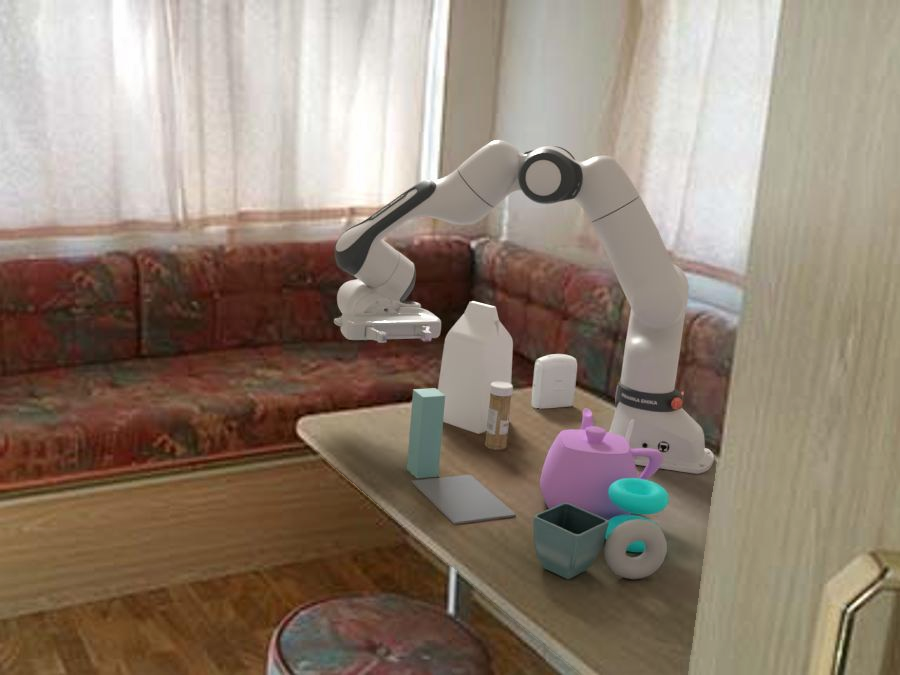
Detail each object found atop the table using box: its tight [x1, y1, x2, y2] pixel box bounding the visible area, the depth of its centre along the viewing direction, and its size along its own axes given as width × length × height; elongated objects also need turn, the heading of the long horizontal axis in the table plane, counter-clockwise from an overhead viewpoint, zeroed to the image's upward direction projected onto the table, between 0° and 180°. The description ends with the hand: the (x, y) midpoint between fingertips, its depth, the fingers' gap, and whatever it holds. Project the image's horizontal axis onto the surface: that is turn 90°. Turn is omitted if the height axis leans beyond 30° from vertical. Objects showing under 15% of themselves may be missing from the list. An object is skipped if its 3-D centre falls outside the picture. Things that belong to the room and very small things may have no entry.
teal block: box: [406, 387, 445, 480], centre depth 199 cm, size 4×4×16 cm
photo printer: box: [530, 353, 578, 410], centre depth 244 cm, size 10×4×12 cm, turn 114°
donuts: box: [604, 477, 670, 553], centre depth 179 cm, size 10×10×10 cm
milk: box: [437, 300, 514, 435], centre depth 228 cm, size 12×12×26 cm
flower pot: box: [533, 503, 609, 580], centre depth 167 cm, size 9×9×9 cm
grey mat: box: [411, 474, 517, 525], centre depth 191 cm, size 18×12×1 cm, turn 25°
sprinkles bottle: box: [484, 381, 514, 451], centre depth 216 cm, size 5×5×13 cm
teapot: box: [539, 407, 663, 520], centre depth 193 cm, size 23×21×15 cm
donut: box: [603, 519, 668, 580], centre depth 166 cm, size 10×4×10 cm, turn 98°
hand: (406, 338), depth 205 cm, fingers open, 8 cm apart
